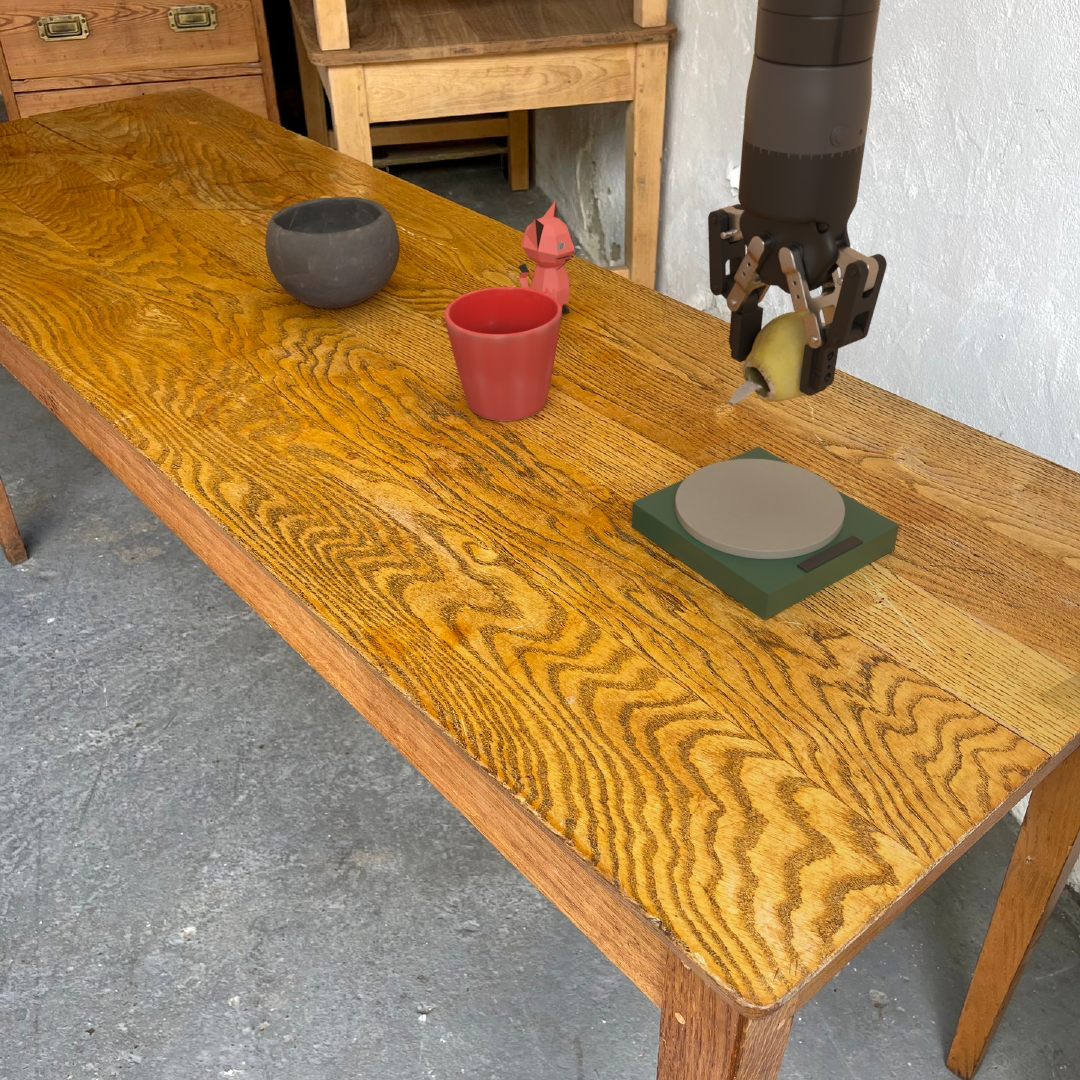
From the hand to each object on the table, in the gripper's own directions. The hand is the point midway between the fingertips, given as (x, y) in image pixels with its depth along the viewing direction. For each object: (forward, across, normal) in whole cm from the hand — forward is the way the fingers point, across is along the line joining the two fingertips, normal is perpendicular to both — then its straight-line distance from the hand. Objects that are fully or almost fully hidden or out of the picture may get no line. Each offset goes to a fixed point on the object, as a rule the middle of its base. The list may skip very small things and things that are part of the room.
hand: (777, 373), depth 79 cm
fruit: (+2, 0, 0) cm, 2 cm away
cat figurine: (+15, +45, -12) cm, 49 cm away
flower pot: (+15, +31, +3) cm, 35 cm away
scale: (+15, 0, 0) cm, 15 cm away
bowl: (+15, +64, +4) cm, 66 cm away
